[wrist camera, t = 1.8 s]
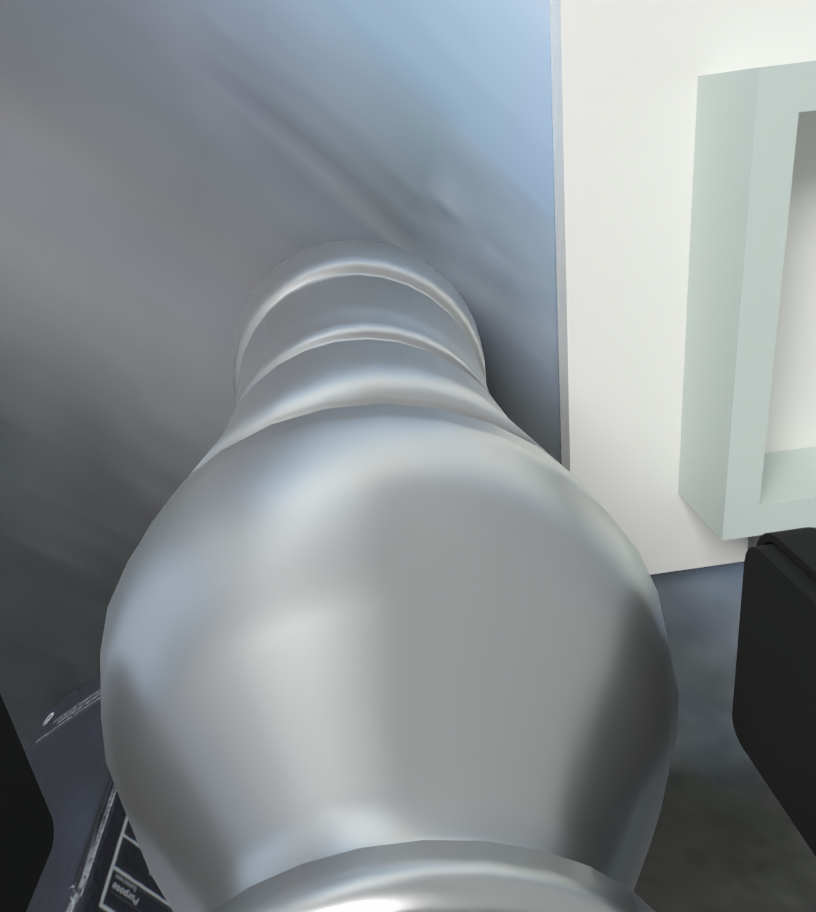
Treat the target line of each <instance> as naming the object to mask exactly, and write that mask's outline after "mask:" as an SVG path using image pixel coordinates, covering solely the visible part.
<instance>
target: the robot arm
mask: <svg viewBox="0 0 816 912" xmlns="http://www.w3.org/2000/svg"><path fill="white" fill-rule="evenodd" d="M732 716H733V725H734V729H735V732H736V735H737V738H738V740H739V742H740V744H741V746H742V747H743V749H744V750H745V752H746V753H747V755H748V756H749V758H750V759H751V761H752V762H753V764H754V765H755V767H756V768H757V770H758V771H759V773H760V774H761V776H762V777H763V779H764V780H765V782H766V783H767V785H768V786H769V788H770V789H771V791H772V792H773V794H774V795H775V796H776V798H777V799H778V801H779V802H780V804H781V805H782V807H783V808H784V810H785V811H786V813H787V814H788V816H789V817H790V819H791V820H792V822H793V823H794V825H795V826H796V828H797V829H798V831H799V832H800V834H801V835H802V837H803V838H804V840H805V841H806V843H807V844H808V846H809V847H810V849H811V850H812V852H813V853H814V855H815V856H816V529H815V528H813V527H805V528H798V529H791V530H784V531H777V532H770V533H765V534H763V535H761V536H760V538H759V540H758V542H757V546H755V547H751V548H749V549H748V550H747V552H746V555H745V561H744V574H743V586H742V599H741V611H740V624H739V636H738V649H737V662H736V674H735V687H734V699H733V712H732ZM53 839H54V825H53V820H52V816H51V814H50V811H49V809H48V807H47V804H46V802H45V799H44V797H43V795H42V792H41V790H40V788H39V785H38V783H37V780H36V778H35V776H34V773H33V771H32V769H31V766H30V764H29V761H28V759H27V757H26V754H25V752H24V749H23V747H22V745H21V742H20V740H19V738H18V735H17V733H16V730H15V728H14V726H13V723H12V721H11V718H10V716H9V714H8V711H7V709H6V707H5V704H4V702H3V699H2V697H1V695H0V912H26V911H27V908H28V906H29V903H30V901H31V899H32V896H33V894H34V891H35V889H36V886H37V884H38V882H39V879H40V877H41V874H42V872H43V869H44V867H45V864H46V862H47V860H48V857H49V855H50V852H51V849H52V845H53Z"/></svg>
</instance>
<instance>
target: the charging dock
mask: <svg viewBox="0 0 816 912" xmlns="http://www.w3.org/2000/svg"><path fill="white" fill-rule="evenodd" d="M550 37H551V75H552V113H553V152H554V190H555V228H556V267H557V305H558V343H559V382H560V420H561V458H562V466H563V467H565V468H566V469H567V470H568V471H569V472H571V473H572V474H573V475H574V476H576V477H577V478H578V479H579V480H580V481H581V483H582V484H583V485H584V486H585V487H586V489H587V490H588V491H589V492H590V493H591V495H592V496H593V497H594V498H595V499H596V500H597V501H598V502H599V503H600V505H601V506H602V507H603V508H604V509H605V510H606V511H607V512H608V514H609V515H610V516H611V517H612V518H613V520H614V521H615V522H616V523H617V525H618V526H619V527H620V528H621V530H622V531H623V532H624V533H625V535H626V536H627V537H628V538H629V539H630V541H631V542H632V543H633V544H634V546H635V547H636V548H637V549H638V551H639V553H640V555H641V557H642V560H643V562H644V564H645V566H646V568H647V570H648V572H649V574H650V575H652V574H659V573H666V572H673V571H680V570H687V569H694V568H701V567H708V566H715V565H722V564H729V563H736V562H743V561H745V555H746V552H747V550H748V549H749V548H751V547H755V546H757V542H758V540H759V538H760V536H761V535H763V534H765V533H770V532H777V531H784V530H791V529H798V528H805V527H813V528H815V529H816V0H550Z"/></svg>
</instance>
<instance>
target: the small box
mask: <svg viewBox="0 0 816 912" xmlns="http://www.w3.org/2000/svg"><path fill="white" fill-rule="evenodd" d="M26 757H27V759H28V761H29V764H30V766H31V769H32V771H33V773H34V776H35V778H36V780H37V783H38V785H39V788H40V790H41V792H42V795H43V797H44V799H45V802H46V804H47V807H48V809H49V811H50V814H51V816H52V820H53V825H54V839H53V845H52V849H51V852H50V855H49V857H48V860H47V862H46V864H45V867H44V869H43V872H42V874H41V877H40V879H39V882H38V884H37V886H36V889H35V891H34V894H33V896H32V899H31V901H30V903H29V906H28V908H27V911H26V912H173V911H172V909H171V907H170V906H169V904H168V902H167V901H166V899H165V897H164V896H163V894H162V892H161V891H160V889H159V887H158V885H157V884H156V882H155V880H154V879H153V877H152V875H151V874H150V872H149V869H148V867H147V864H146V862H145V859H144V857H143V854H142V852H141V849H140V847H139V844H138V842H137V840H136V837H135V835H134V832H133V830H132V827H131V825H130V822H129V820H128V817H127V815H126V812H125V810H124V807H123V805H122V803H121V800H120V797H119V795H118V792H117V790H116V787H115V784H114V782H113V779H112V777H111V774H110V771H109V769H108V766H107V764H106V759H105V750H104V741H103V731H102V722H101V680H100V675H99V676H96V677H95V678H94V679H93V680H92V681H90V682H89V683H87V684H85V685H84V686H83V687H81V688H77V689H75V690H74V691H73V692H71V693H70V694H68V695H67V696H66V697H65V698H63V699H62V700H61V701H60V702H59V703H58V704H57V705H56V706H54V707H53V708H51V709H50V710H48V711H47V712H46V713H45V715H44V717H43V719H42V722H41V724H40V726H39V728H38V730H37V732H36V734H35V736H34V738H33V740H32V742H31V744H30V746H29V748H28V750H27V753H26Z"/></svg>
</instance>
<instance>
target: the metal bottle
mask: <svg viewBox="0 0 816 912" xmlns="http://www.w3.org/2000/svg"><path fill="white" fill-rule="evenodd" d="M233 385H234V390H235V394H236V405H235V410H234V412H233V414H232V416H231V418H230V420H229V423H228V425H227V427H226V429H225V431H224V433H223V435H222V436H221V438H220V439H219V440H218V441H217V442H216V444H215V445H214V446H213V447H212V448H211V450H210V451H209V452H208V453H207V455H206V456H205V457H204V458H203V459H202V461H201V462H200V463H199V464H198V465H197V467H196V468H195V469H194V470H193V471H192V473H191V474H190V475H189V476H188V478H187V479H186V480H185V481H184V482H183V483H182V484H181V485H180V486H179V487H178V489H177V490H176V491H175V493H174V494H173V495H172V497H171V498H170V499H169V500H168V502H167V503H166V504H165V506H164V507H163V508H162V510H161V511H160V512H159V513H158V515H157V516H156V517H155V519H154V520H153V521H152V523H151V524H150V526H149V528H148V530H147V531H146V533H145V535H144V536H143V538H142V540H141V542H140V543H139V545H138V546H137V548H136V549H135V551H134V553H133V554H132V556H131V557H130V559H129V560H128V562H127V564H126V567H125V569H124V571H123V573H122V576H121V578H120V580H119V583H118V585H117V587H116V589H115V592H114V594H113V596H112V598H111V601H110V603H109V605H108V608H107V614H106V621H105V627H104V633H103V640H102V646H101V652H100V680H101V722H102V731H103V741H104V750H105V759H106V764H107V766H108V769H109V771H110V774H111V777H112V779H113V782H114V784H115V787H116V790H117V792H118V795H119V797H120V800H121V803H122V805H123V807H124V810H125V812H126V815H127V817H128V820H129V822H130V825H131V827H132V830H133V832H134V835H135V837H136V840H137V842H138V844H139V847H140V849H141V852H142V854H143V857H144V859H145V862H146V864H147V867H148V869H149V872H150V874H151V875H152V877H153V879H154V880H155V882H156V884H157V885H158V887H159V889H160V891H161V892H162V894H163V896H164V897H165V899H166V901H167V902H168V904H169V906H170V907H171V909H172V911H173V912H655V911H654V910H653V909H652V908H651V907H650V906H649V905H648V904H646V903H645V902H644V901H643V900H642V899H641V898H640V897H639V896H638V895H637V894H635V893H634V892H633V891H634V888H635V885H636V882H637V880H638V877H639V874H640V871H641V869H642V866H643V863H644V860H645V858H646V855H647V852H648V849H649V846H650V844H651V840H652V837H653V834H654V831H655V827H656V824H657V821H658V818H659V814H660V811H661V807H662V802H663V798H664V793H665V788H666V783H667V778H668V773H669V769H670V764H671V759H672V754H673V749H674V744H675V740H676V732H677V713H678V689H677V684H676V679H675V674H674V669H673V664H672V659H671V654H670V649H669V644H668V639H667V634H666V629H665V624H664V619H663V614H662V609H661V604H660V599H659V594H658V591H657V589H656V587H655V585H654V583H653V581H652V578H651V576H650V574H649V572H648V570H647V568H646V566H645V564H644V562H643V560H642V557H641V555H640V553H639V551H638V549H637V548H636V547H635V546H634V544H633V543H632V542H631V541H630V539H629V538H628V537H627V536H626V535H625V533H624V532H623V531H622V530H621V528H620V527H619V526H618V525H617V523H616V522H615V521H614V520H613V518H612V517H611V516H610V515H609V514H608V512H607V511H606V510H605V509H604V508H603V507H602V506H601V505H600V503H599V502H598V501H597V500H596V499H595V498H594V497H593V496H592V495H591V493H590V492H589V491H588V490H587V489H586V487H585V486H584V485H583V484H582V483H581V481H580V480H579V479H578V478H577V477H576V476H574V475H573V474H572V473H571V472H569V471H568V470H567V469H566V468H565V467H563V466H562V465H561V464H560V463H559V462H558V461H557V460H555V459H554V458H553V457H552V456H551V455H550V454H549V453H547V452H546V451H545V450H544V449H543V448H542V447H541V446H539V445H538V444H537V443H536V442H535V441H534V440H533V439H531V438H530V437H529V436H528V435H527V434H526V433H524V432H523V431H522V430H521V429H520V428H519V427H518V426H516V425H515V424H514V423H513V422H512V421H511V420H510V419H508V417H507V416H506V415H505V413H504V412H503V411H502V409H501V408H500V407H499V406H498V404H497V403H496V402H495V401H494V399H493V397H492V396H491V395H490V393H489V391H488V388H487V385H486V371H485V359H484V354H483V349H482V345H481V341H480V337H479V334H478V330H477V327H476V323H475V321H474V319H473V317H472V315H471V313H470V311H469V309H468V307H467V305H466V303H465V301H464V299H463V298H462V297H461V296H460V294H459V293H458V292H457V290H456V289H455V288H454V287H453V285H452V284H451V283H450V282H449V280H448V279H446V278H445V277H444V276H443V275H442V274H441V273H439V272H438V271H437V270H436V269H435V268H434V267H432V266H431V265H430V264H429V263H427V262H425V261H424V260H422V259H420V258H418V257H416V256H415V255H413V254H411V253H409V252H408V251H406V250H403V249H400V248H396V247H393V246H390V245H387V244H384V243H381V242H373V241H365V240H356V239H353V240H341V241H330V242H325V243H322V244H319V245H315V246H312V247H309V248H305V249H303V250H301V251H299V252H297V253H296V254H294V255H292V256H290V257H288V258H286V259H285V260H283V261H281V262H280V263H279V264H278V265H277V266H275V267H274V268H273V269H272V270H271V271H270V272H269V273H267V274H266V275H265V276H264V277H263V278H262V279H261V280H260V282H259V283H258V284H257V286H256V287H255V289H254V290H253V291H252V293H251V294H250V295H249V297H248V298H247V300H246V303H245V305H244V307H243V309H242V312H241V314H240V316H239V319H238V321H237V326H236V331H235V336H234V341H233Z"/></svg>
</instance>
